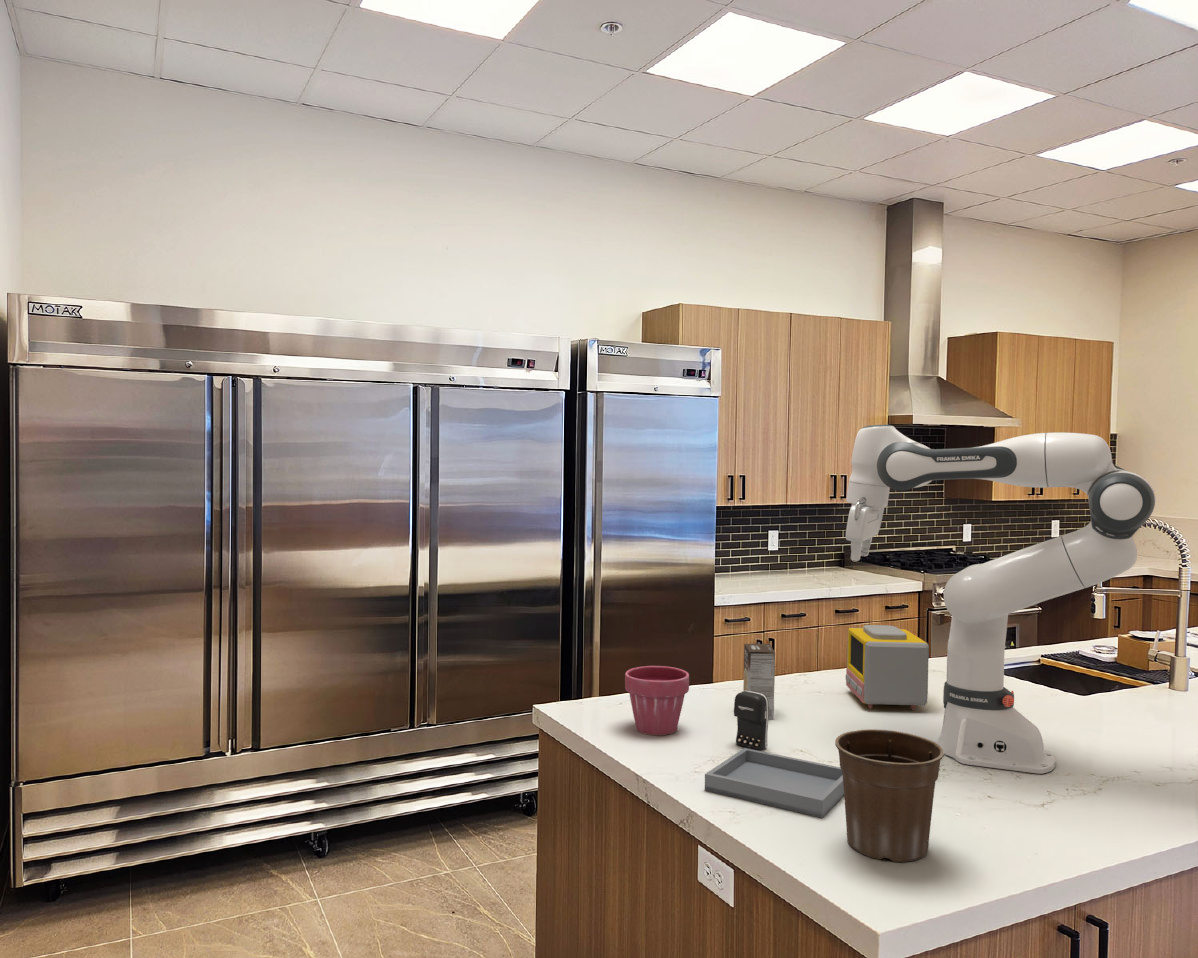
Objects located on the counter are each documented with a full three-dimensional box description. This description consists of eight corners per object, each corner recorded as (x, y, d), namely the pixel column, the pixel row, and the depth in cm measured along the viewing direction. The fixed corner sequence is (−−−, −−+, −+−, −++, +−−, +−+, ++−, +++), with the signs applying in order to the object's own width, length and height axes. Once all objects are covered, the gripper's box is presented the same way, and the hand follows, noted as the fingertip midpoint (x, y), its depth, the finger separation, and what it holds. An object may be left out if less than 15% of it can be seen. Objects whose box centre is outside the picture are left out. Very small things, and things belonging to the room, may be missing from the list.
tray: (853, 785, 166) (854, 769, 166) (822, 817, 151) (822, 800, 151) (744, 762, 178) (744, 747, 178) (704, 790, 163) (704, 773, 162)
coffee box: (742, 708, 217) (743, 642, 217) (768, 708, 217) (769, 643, 216) (747, 719, 208) (748, 650, 207) (775, 719, 208) (776, 651, 207)
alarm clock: (843, 690, 235) (844, 621, 235) (904, 692, 234) (905, 622, 234) (862, 712, 215) (864, 636, 215) (928, 713, 215) (930, 637, 214)
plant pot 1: (616, 735, 194) (617, 677, 194) (633, 717, 208) (634, 663, 207) (681, 742, 190) (682, 682, 190) (693, 723, 203) (694, 668, 203)
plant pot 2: (898, 880, 129) (901, 769, 128) (811, 840, 142) (813, 740, 141) (962, 852, 138) (965, 749, 138) (875, 817, 151) (877, 723, 151)
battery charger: (730, 745, 189) (731, 691, 188) (740, 741, 192) (741, 688, 191) (759, 752, 184) (760, 697, 184) (768, 748, 187) (770, 694, 187)
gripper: (873, 501, 186) (864, 566, 188) (889, 496, 205) (882, 555, 206) (843, 497, 189) (834, 560, 190) (862, 492, 207) (854, 551, 209)
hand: (859, 558), depth 198 cm, fingers open, 8 cm apart
